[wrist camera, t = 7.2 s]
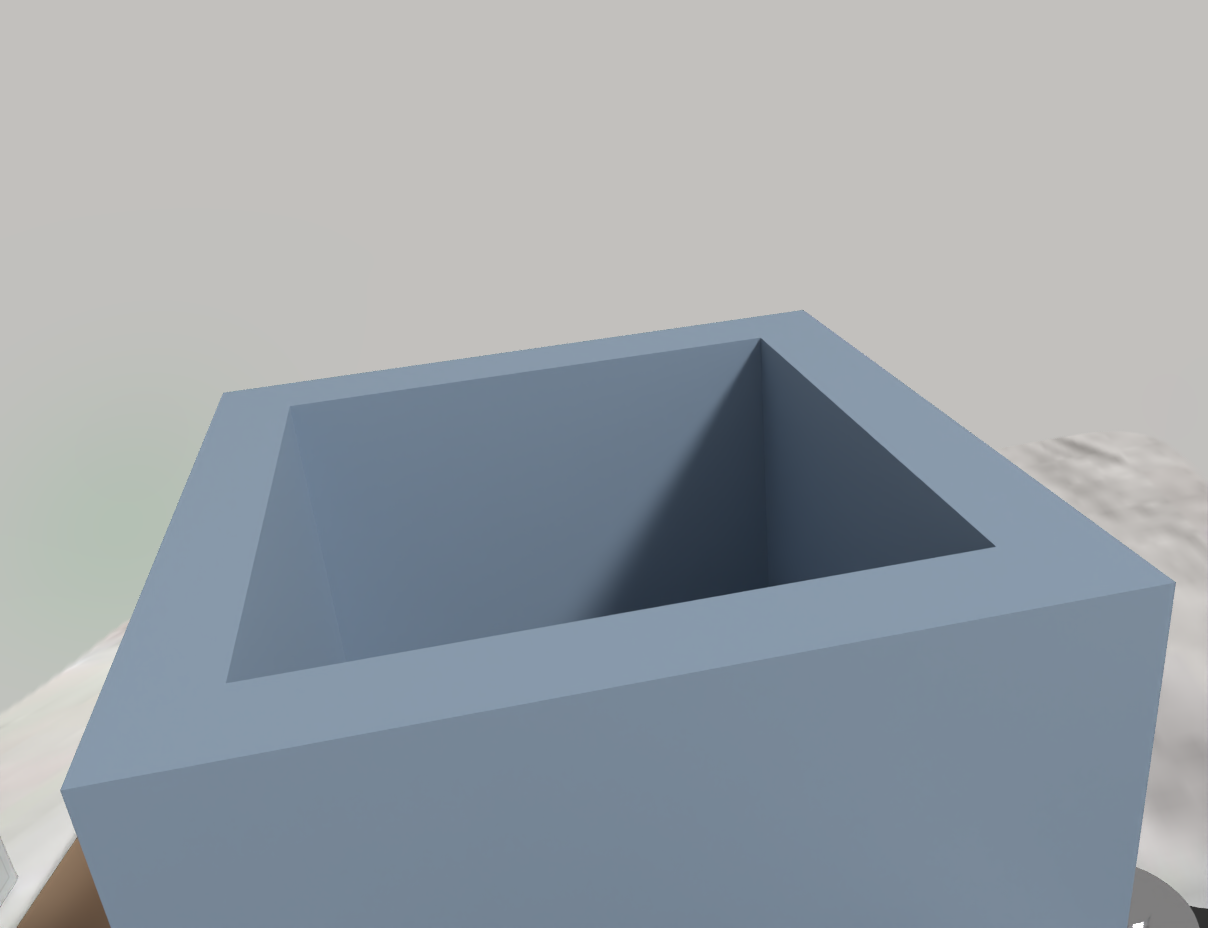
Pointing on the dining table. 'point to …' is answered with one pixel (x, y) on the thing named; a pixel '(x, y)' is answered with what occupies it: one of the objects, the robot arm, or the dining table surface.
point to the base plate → (68, 897)
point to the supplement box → (6, 873)
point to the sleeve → (623, 658)
